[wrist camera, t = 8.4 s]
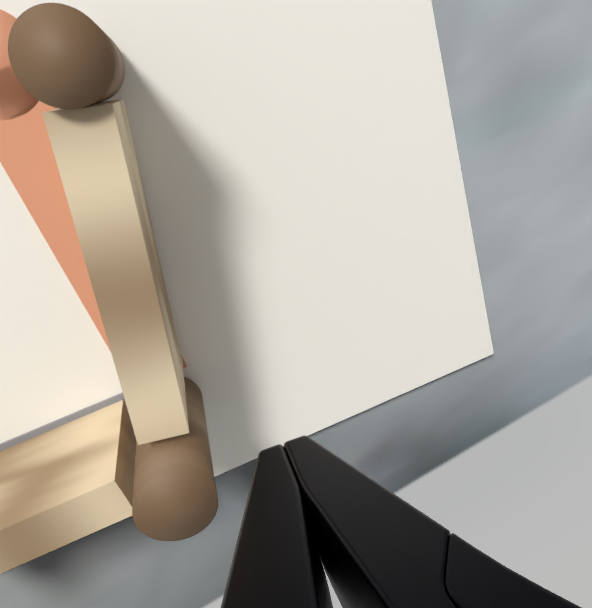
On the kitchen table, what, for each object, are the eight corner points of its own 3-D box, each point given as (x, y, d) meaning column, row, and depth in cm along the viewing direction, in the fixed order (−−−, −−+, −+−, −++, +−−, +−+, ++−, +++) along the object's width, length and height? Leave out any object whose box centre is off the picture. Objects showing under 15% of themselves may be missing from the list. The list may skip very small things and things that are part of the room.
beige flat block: (-80, 527, 20) (-153, 663, 15) (-115, 491, 19) (-203, 624, 14) (143, 431, 21) (139, 533, 16) (119, 393, 20) (108, 488, 15)
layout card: (-45, 583, 22) (-49, 594, 21) (-490, 133, 13) (-512, 134, 13) (488, 349, 24) (495, 354, 23) (395, -166, 15) (402, -173, 15)
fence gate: (207, 420, 21) (223, 528, 16) (146, 434, 20) (142, 550, 15) (122, 22, 15) (105, -10, 10) (34, 30, 14) (-31, 2, 9)
